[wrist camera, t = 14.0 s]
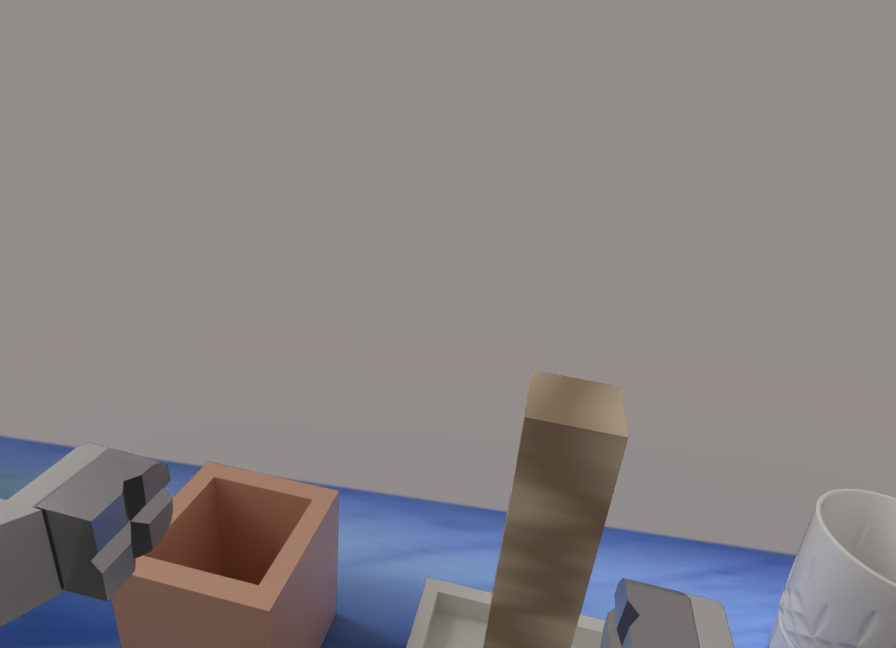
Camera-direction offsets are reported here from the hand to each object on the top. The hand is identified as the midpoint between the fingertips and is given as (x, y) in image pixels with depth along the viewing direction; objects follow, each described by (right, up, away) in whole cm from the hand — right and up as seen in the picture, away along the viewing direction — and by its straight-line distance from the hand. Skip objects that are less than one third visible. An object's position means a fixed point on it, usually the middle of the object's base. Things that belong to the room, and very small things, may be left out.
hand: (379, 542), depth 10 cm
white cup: (+23, -16, +23) cm, 36 cm away
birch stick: (+4, -15, +18) cm, 24 cm away
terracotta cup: (-10, -14, +20) cm, 26 cm away
